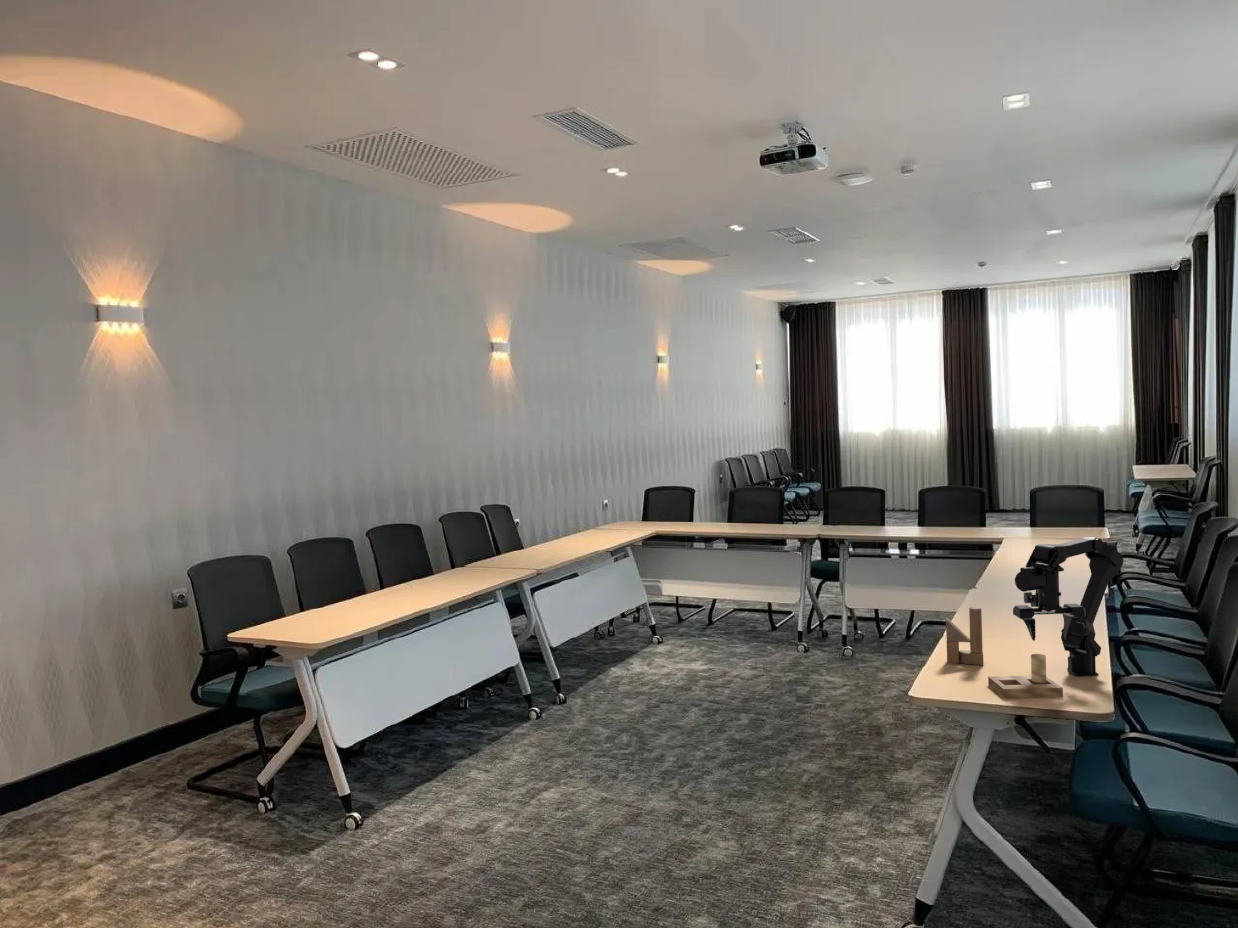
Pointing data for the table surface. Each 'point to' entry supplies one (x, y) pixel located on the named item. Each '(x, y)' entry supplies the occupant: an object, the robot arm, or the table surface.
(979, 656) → the wooden block structure
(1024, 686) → the board
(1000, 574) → the table surface
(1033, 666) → the dowel
